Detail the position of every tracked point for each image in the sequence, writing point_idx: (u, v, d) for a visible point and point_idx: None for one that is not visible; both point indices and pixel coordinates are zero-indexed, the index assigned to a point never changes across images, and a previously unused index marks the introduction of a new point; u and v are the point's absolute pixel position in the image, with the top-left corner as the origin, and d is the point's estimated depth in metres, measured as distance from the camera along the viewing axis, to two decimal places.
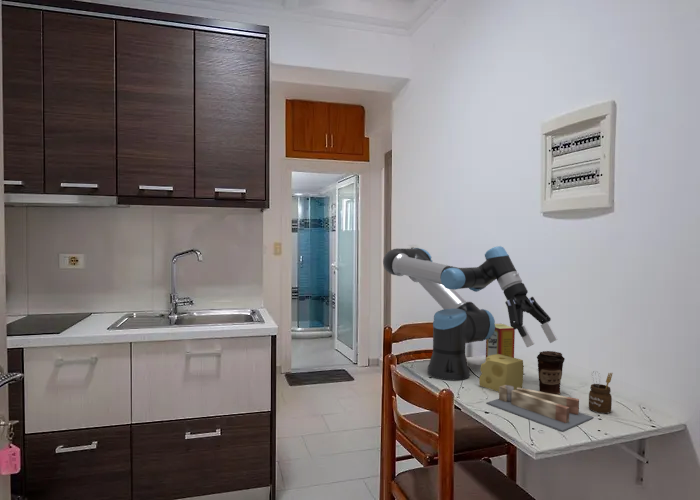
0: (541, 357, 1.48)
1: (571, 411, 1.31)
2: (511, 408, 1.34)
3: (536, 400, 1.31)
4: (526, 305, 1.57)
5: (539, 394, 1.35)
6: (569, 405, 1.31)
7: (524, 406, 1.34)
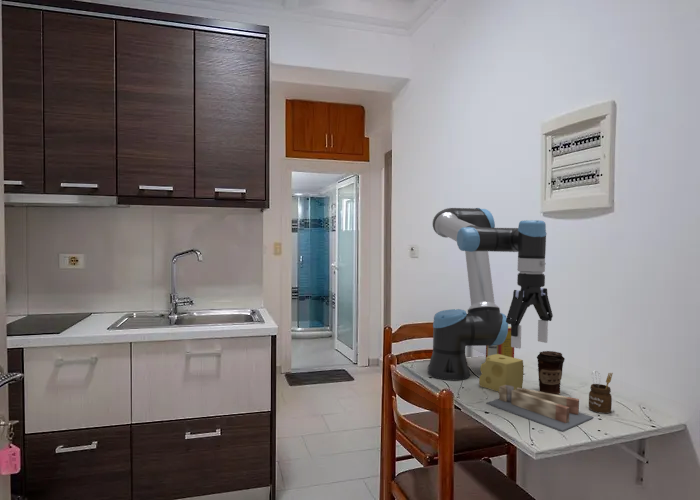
0: (541, 357, 1.48)
1: (571, 411, 1.31)
2: (511, 408, 1.34)
3: (536, 400, 1.31)
4: (534, 299, 1.34)
5: (539, 394, 1.35)
6: (569, 405, 1.31)
7: (524, 406, 1.34)
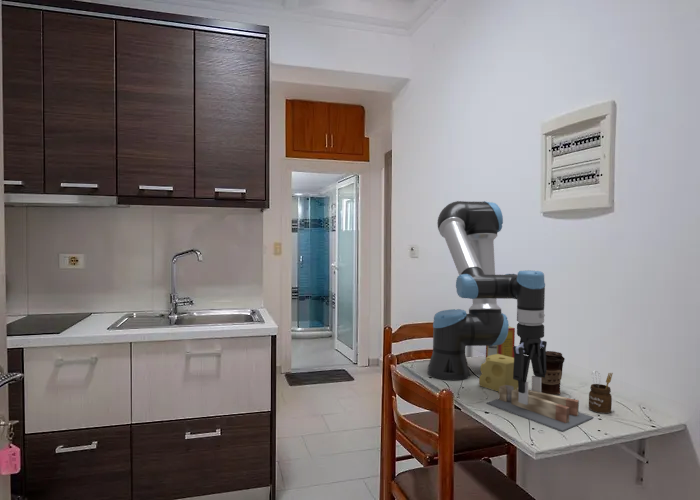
0: None
1: (570, 412, 1.30)
2: (511, 408, 1.34)
3: (536, 400, 1.31)
4: (534, 350, 1.35)
5: (539, 395, 1.35)
6: (568, 406, 1.30)
7: (524, 406, 1.34)
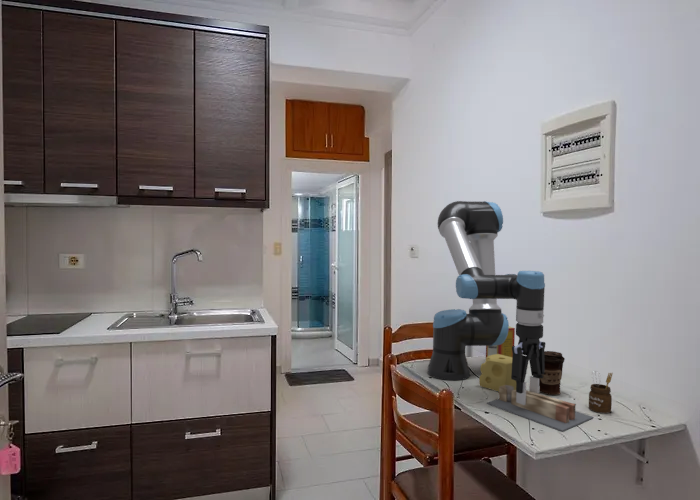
0: None
1: None
2: (511, 408, 1.34)
3: (536, 400, 1.31)
4: (532, 350, 1.34)
5: (536, 396, 1.34)
6: None
7: (524, 406, 1.34)
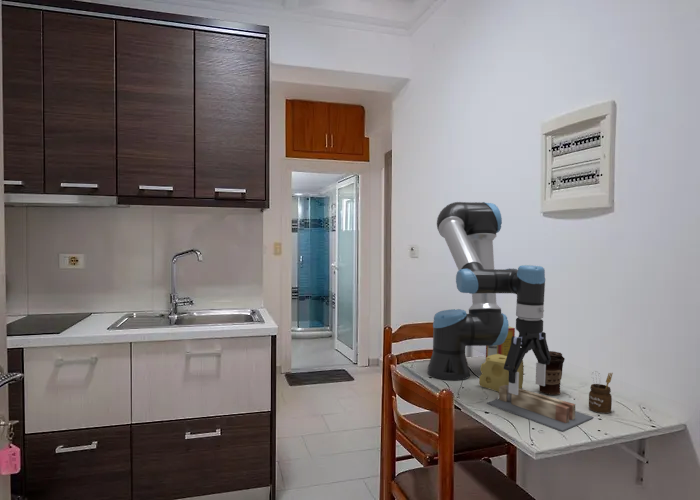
0: None
1: None
2: (511, 408, 1.34)
3: (536, 400, 1.31)
4: (532, 345, 1.35)
5: (536, 396, 1.34)
6: None
7: (524, 406, 1.34)
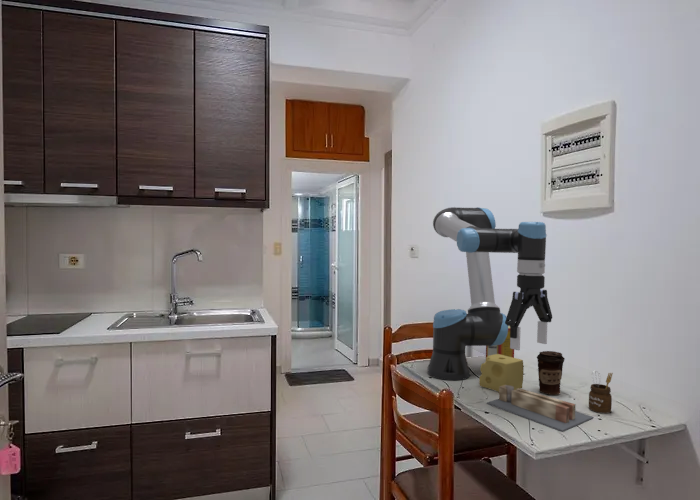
0: (541, 357, 1.48)
1: None
2: (511, 408, 1.34)
3: (536, 400, 1.31)
4: (534, 301, 1.34)
5: (536, 396, 1.34)
6: None
7: (524, 406, 1.34)
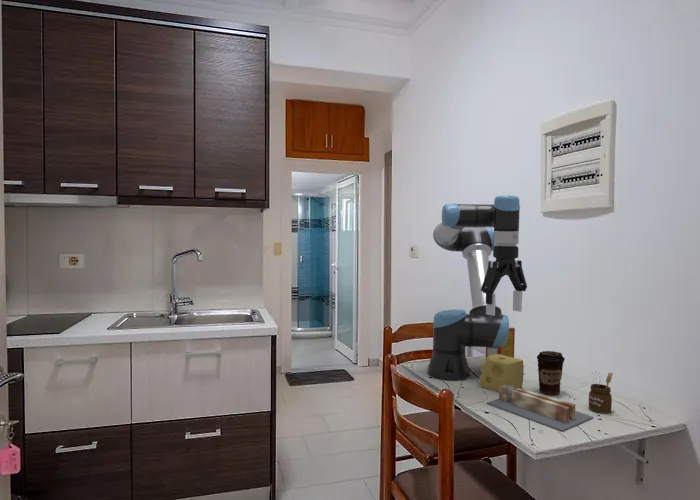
0: (541, 357, 1.48)
1: None
2: (511, 408, 1.34)
3: (536, 400, 1.31)
4: (508, 270, 1.43)
5: (536, 396, 1.34)
6: None
7: (524, 406, 1.34)
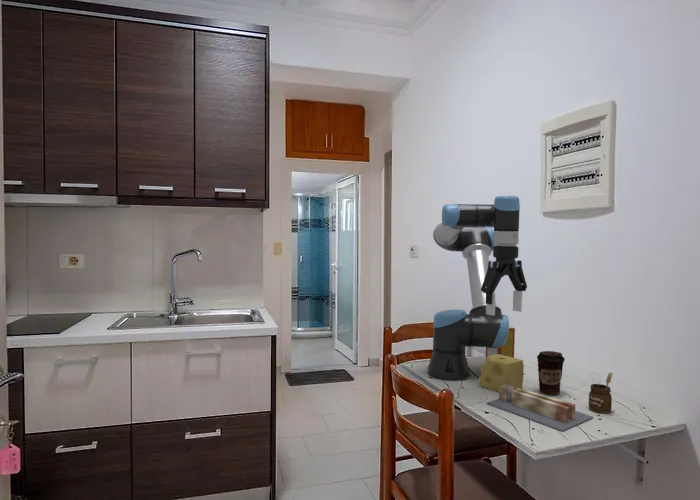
0: (541, 357, 1.48)
1: None
2: (511, 408, 1.34)
3: (536, 400, 1.31)
4: (508, 270, 1.43)
5: (536, 396, 1.34)
6: None
7: (524, 406, 1.34)
